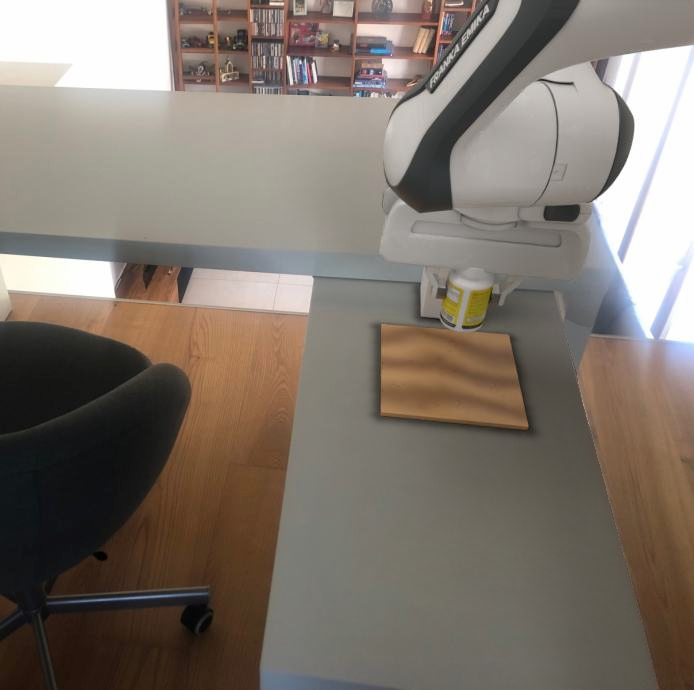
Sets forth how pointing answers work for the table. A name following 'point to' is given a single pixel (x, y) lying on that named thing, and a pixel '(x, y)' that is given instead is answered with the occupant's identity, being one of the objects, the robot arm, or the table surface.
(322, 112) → the table surface
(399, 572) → the table surface
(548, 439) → the table surface
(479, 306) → the supplement bottle
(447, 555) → the table surface
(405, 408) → the wooden board
